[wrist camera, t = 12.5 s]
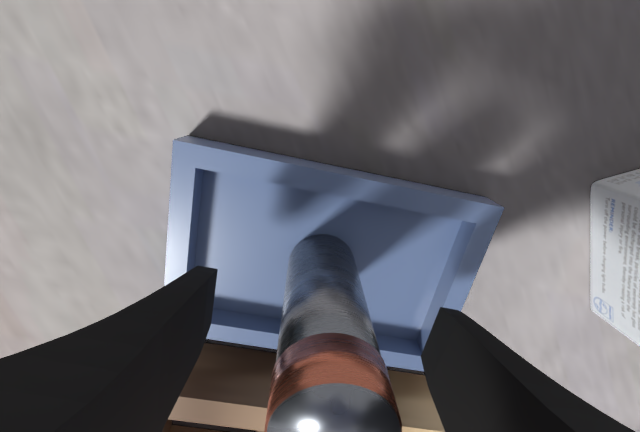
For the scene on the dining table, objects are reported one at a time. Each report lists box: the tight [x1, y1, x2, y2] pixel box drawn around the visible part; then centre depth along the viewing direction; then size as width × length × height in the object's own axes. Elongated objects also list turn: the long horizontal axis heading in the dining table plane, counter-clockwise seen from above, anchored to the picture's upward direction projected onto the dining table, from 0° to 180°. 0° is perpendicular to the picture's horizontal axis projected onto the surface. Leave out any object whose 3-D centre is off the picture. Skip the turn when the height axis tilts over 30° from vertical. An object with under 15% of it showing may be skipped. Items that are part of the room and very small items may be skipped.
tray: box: [164, 135, 504, 372], centre depth 14 cm, size 12×8×1 cm, turn 78°
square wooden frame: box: [162, 343, 277, 432], centre depth 15 cm, size 7×7×3 cm
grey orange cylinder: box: [264, 234, 402, 432], centre depth 10 cm, size 3×3×8 cm
